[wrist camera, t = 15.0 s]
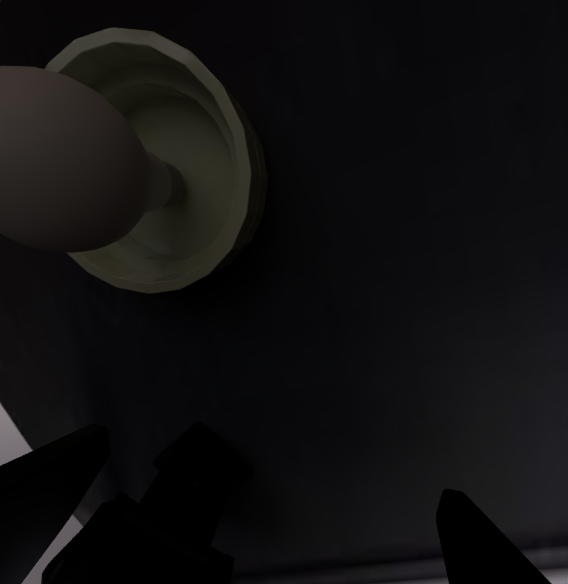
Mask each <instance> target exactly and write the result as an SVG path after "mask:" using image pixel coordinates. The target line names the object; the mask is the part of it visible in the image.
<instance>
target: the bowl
mask: <svg viewBox="0 0 568 584" xmlns="http://www.w3.org/2000/svg"><path fill="white" fill-rule="evenodd" d="M47 65H48V66H46V67H45V69H44V70H48V71H52V72H56V73H59V74H63V75H66V76H68V77H70V78H72V79H74V80H76V81H78V82H80V83H82V84H84V85H86V86H88V87H89V88H91V89H93V90H95V91H96V92H97V93H99V94H100V95H101V96H102V97H103V98H105V99H106V100H107V101H108V102H110V103H111V104H112V105H113V106H114V107H115V108H116V109H117V110H119V111H120V112H121V114H122V115H123V116H124V117H125V118H126V119H127V121H128V122H129V123H130V124H131V126H132V128H133V129H134V131H135V133H136V134H137V136H138V138H139V139H140V141H141V143H142V144H143V146H144V148H145V150H147V151H150V152H152V153H153V154H155V155H156V156H158V157H159V158H160V159H161V160H162V161H165V162H167V163H169V164H171V165H173V166H174V167H176V168H177V169H178V170H179V172H180V173H181V175H182V177H183V180H184V188H185V189H184V194H183V196H182V198H181V200H180V201H179V202H178V203H177V204H175V205H173V206H167V207H161V208H159V209H158V210H155V211H153V212H145V213H144V215H143V217H142V218H141V219H140V221H139V222H138V223H137V225H136V226H135V227H134V228H133V229H132V230H131V231H130V232H129V233H128V234H127V235H125V236H124V237H122V238H121V239H119V240H118V241H116V242H114V243H112V244H110V245H108V246H105V247H102V248H100V249H97V250H91V251H85V252H76V253H68V252H66V253H68V254H69V255H70V256H71V257H72V258H73V259H74V260H75V261H76V262H77V263H78V264H79V265H80V266H81V267H82V268H84V269H85V270H86V271H87V272H89V273H90V274H92V275H94V276H96V277H98V278H100V279H102V280H104V281H105V282H107V283H109V284H111V285H113V286H115V287H117V288H122V289H127V290H132V291H137V292H142V293H147V294H148V293H149V294H150V293H158V292H166V291H174V290H179V289H182V288H184V287H186V286H188V285H190V284H192V283H194V282H196V281H198V280H200V279H202V278H203V277H205V276H207V275H209V274H211V273H213V272H215V271H217V270H219V269H221V268H222V267H224V266H226V265H228V264H230V263H231V262H233V261H234V259H235V258H236V257H237V256H238V255H239V254H240V253H241V252H242V251H243V250H244V249H245V248H246V247H247V246H248V245H249V243H250V242H251V241H252V238H253V236H254V234H255V232H256V230H257V228H258V225H259V223H260V221H261V219H262V217H263V213H264V209H265V201H266V194H267V186H268V177H267V171H266V165H265V159H264V153H263V147H262V144H261V141H260V139H259V137H258V135H257V133H256V131H255V129H254V127H253V125H252V123H251V121H250V119H249V117H248V115H247V113H246V112H245V110H244V109H243V108H242V107H241V106H240V104H239V103H238V102H237V101H236V100H235V99H234V98H233V96H232V95H231V94H230V93H229V92H228V91H227V90H226V88H225V87H224V86H223V85H222V84H221V83H220V82H219V81H218V80H217V79H216V77H215V76H214V75H213V74H212V73H211V72H210V71H209V70H208V69H207V68H206V67H205V66H204V65H203V64H202V63H201V61H200V60H199V59H198V58H197V57H196V56H195V55H194V54H193V53H191V51H189V50H187V49H185V48H183V47H181V46H180V45H178V44H176V43H174V42H172V41H170V40H168V39H166V38H164V37H162V36H161V35H159V34H157V33H155V32H151V31H143V30H133V29H123V28H108V29H105V30H102V31H99V32H96V33H93V34H90V35H87V36H84V37H81V38H78V39H76V40H74V41H73V42H71V43H70V44H69V45H68V46H67V47H66V48H65V49H64V50H63V51H61V52H60V53H59V54H58V55H57V56H56V57H55V58H54V59H52V60H51V61H50V62H49V63H48V64H47Z"/></svg>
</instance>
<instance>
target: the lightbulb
mask: <svg viewBox="0 0 568 584" xmlns="http://www.w3.org/2000/svg"><path fill="white" fill-rule="evenodd" d="M184 189H185V188H184V180H183V177H182V175H181V173H180V172H179V170H178V169H177V168H176V167H174V166H173V165H171V164H169V163H167V162H165V161H162V160H161V159H160V158H159V157H158V156H156V155H155V154H153V153H152V152H150V151H147V150H145V148H144V146H143V144H142V143H141V141H140V139H139V138H138V136H137V134H136V133H135V131H134V129H133V128H132V126H131V124H130V123H129V122H128V121H127V119H126V118H125V117H124V116H123V115H122V114H121V112H120V111H119V110H117V109H116V108H115V107H114V106H113V105H112V104H111V103H110V102H108V101H107V100H106V99H105V98H103V97H102V96H101V95H100V94H99V93H97V92H96V91H95V90H93V89H91V88H89V87H88V86H86V85H84V84H82V83H80V82H78V81H76V80H74V79H72V78H70V77H68V76H66V75H63V74H59V73H56V72H52V71H48V70H44V69H40V68H36V67H22V66H1V67H0V233H1V234H3V235H4V236H6V237H8V238H10V239H12V240H14V241H16V242H18V243H21V244H24V245H27V246H30V247H34V248H38V249H42V250H47V251H56V252H68V253H76V252H85V251H91V250H97V249H100V248H102V247H105V246H108V245H110V244H112V243H114V242H116V241H118V240H119V239H121V238H122V237H124V236H125V235H127V234H128V233H129V232H130V231H131V230H132V229H133V228H134V227H135V226H136V225H137V223H138V222H139V221H140V219H141V218H142V217H143V215H144V213H145V212H153V211H155V210H158V209H159V208H161V207H167V206H173V205H175V204H177V203H178V202H179V201H180V200H181V198H182V196H183V194H184Z"/></svg>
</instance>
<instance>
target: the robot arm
mask: <svg viewBox="0 0 568 584" xmlns="http://www.w3.org/2000/svg"><path fill="white" fill-rule="evenodd" d="M198 429H199V430H198ZM109 453H110V444H109V435H108V429H107V428H106V427H105V426H101V425H96V424H91V425H89V426H86V427H84V428H82V429H80V430H78V431H75V432H73V433H71V434H69V435H67V436H64V437H62V438H60V439H58V440H56V441H54V442H51V443H49V444H47V445H45V446H43V447H40V448H38V449H36V450H34V451H32V452H29V453H28V454H25V455H23V456H21V457H19V458H16V459H14V460H12V461H10V462H8V463H6V464H3V465H1V466H0V584H21V583H22V582H23V580H24V579H25V578H26V577H27V575H28V574H29V572H30V571H31V570H32V569H33V567H34V566H35V564H36V563H37V562H38V560H39V559H40V558H41V556H42V555H43V554H44V552H45V551H46V550H47V548H48V547H49V546H50V544H51V543H52V542H53V540H54V539H55V538H56V536H57V535H58V533H59V532H60V531H61V530H62V528H63V527H64V525H65V524H66V522H67V521H68V520H69V518H70V517H71V515H72V514H73V512H74V511H75V509H76V508H77V506H78V505H79V503H80V502H81V500H82V498H83V497H84V495H85V494H86V492H87V490H88V489H89V487H90V486H91V484H92V482H93V481H94V479H95V478H96V476H97V475H98V473H99V471H100V470H101V468H102V467H103V465H104V463H105V462H106V460H107V458H108V456H109ZM153 465H154V467H155V468H156V469H158V470H159V471H160V472H159V473H158V475H157V476H156V478H155V480H154V481H153V483H152V484H151V486H150V487H149V489H148V490H147V492H146V493H145V495H144V496H143V498H142V499H141V501H140V503H137V502H135V501H134V500H132V499H130V498H129V497H127V496H128V495H127V494H125V493H124V492H122V491H120V493H119V494H118V495H117V496H116V498H115V499H114V500H113V501H112V502H111V501H109V502H105V503H102V504H101V506H100V507H99V508H98V509H97V511H96V512H95V513H94V515H93V516H92V517H91V518H90V520H89V521H88V522H87V523H86V525H85V526H84V527H83V528H82V529H81V530H80V532H79V533H78V534H77V535H76V536H75V537H74V538H73V539H72V540H71V541H70V542H69V543H68V544H67V545H66V546H65V547H64V548H63V549H62V550H61V551H60V552H59V553H58V554H57V555H56V556H55V557H54V558H53V560H51V561H50V563H49V564H48V565H47V567H46V568H45V570H44V571H43V573H42V582H41V584H230V582H231V576H232V569H233V563H234V558H233V557H232V556H230V555H228V554H226V555H225V554H223V553H221V552H220V551H218V550H216V549H215V548H213V547H211V546H210V545H211V543H212V540H213V537H214V534H215V531H216V529H217V526H218V523H219V520H220V517H221V515H222V512H223V509H224V506H225V504H226V501H227V498H228V496H229V495H230V494H232V493H233V492H235V491H236V490H237V489H239V488H240V487H242V486H243V485H245V484H246V483H247V482H249V481H250V480H251V479H252V477H253V470H252V469H251V468H250V467H249V466H248V465H247V464H246V463H244V462H243V461H242V460H241V459H240V458H239V457H238V456H237V455H236V454H235V453H234V452H232V451H231V450H230V449H229V448H228V447H227V446H226V445H225V444H224V443H223V442H222V441H220V440H219V439H218V438H217V437H216V436H215V435H214V434H213V433H212V432H211V431H210V430H208V429H207V428H206V427H205V426H204V425H203V424H201V423H196V424H194V425H193V426H192V427H191V428H189V429H188V430H187V431H186V432H185V433H184V434H183V435H181V436H180V437H179V438H178V439H177V440H176V441H174V442H173V443H172V444H171V445H170V446H169V447H167V448H166V449H165V450H164V451H163V452H162V453H160V454H159V455H158V456H157V457H156V458H155V460H154V461H153ZM436 523H437V528H438V533H439V538H440V543H441V547H442V552H443V557H444V562H445V566H446V571H447V576H448V581H449V584H551V583H550V582H549V581H548V580H547V579H546V578H545V576H544V575H543V574H542V573H541V572H540V571H539V570H538V569H537V568H536V567H535V566H534V565H533V564H532V563H531V562H530V561H529V560H528V559H527V558H526V557H525V556H524V555H523V554H522V553H521V552H520V550H519V549H518V548H517V547H516V546H515V545H514V544H513V543H512V542H511V541H510V540H509V539H508V538H507V537H506V536H505V535H504V534H503V533H502V532H501V531H500V530H499V529H498V528H497V527H496V526H495V524H494V523H493V522H492V521H491V520H490V519H489V518H488V517H487V516H486V515H485V514H484V513H483V512H482V511H481V510H480V509H479V508H478V507H477V506H476V505H475V504H474V503H473V502H472V501H471V500H470V498H469V497H468V496H467V495H466V494H464V493H463V492H461V491H456V490H451V489H445V490H444V491H443V492H442V495H441V499H440V502H439V506H438V509H437V513H436Z"/></svg>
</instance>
